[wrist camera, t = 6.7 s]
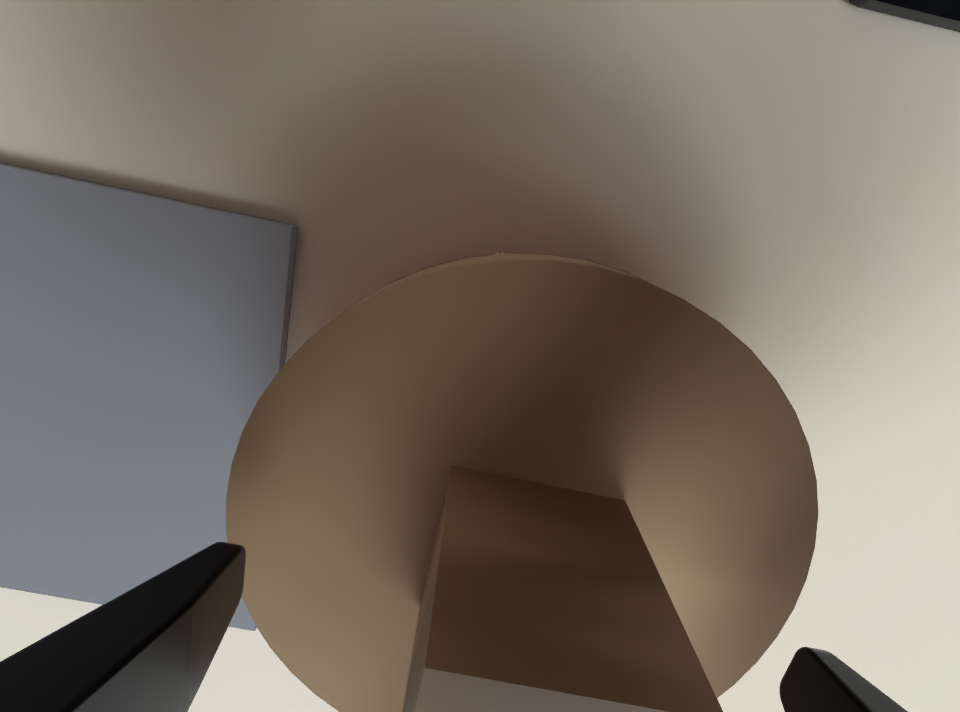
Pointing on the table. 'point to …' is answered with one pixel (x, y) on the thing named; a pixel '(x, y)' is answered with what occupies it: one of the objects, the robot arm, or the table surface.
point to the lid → (522, 497)
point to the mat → (126, 377)
